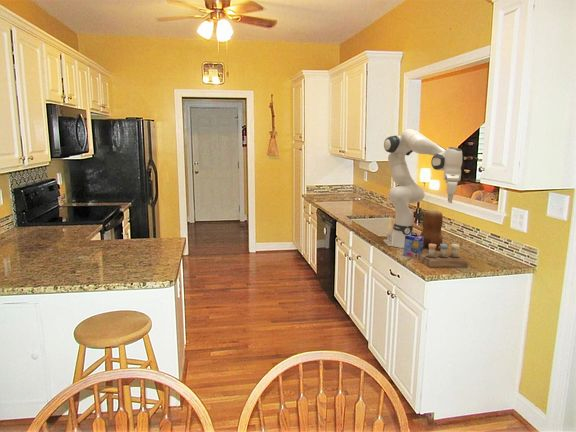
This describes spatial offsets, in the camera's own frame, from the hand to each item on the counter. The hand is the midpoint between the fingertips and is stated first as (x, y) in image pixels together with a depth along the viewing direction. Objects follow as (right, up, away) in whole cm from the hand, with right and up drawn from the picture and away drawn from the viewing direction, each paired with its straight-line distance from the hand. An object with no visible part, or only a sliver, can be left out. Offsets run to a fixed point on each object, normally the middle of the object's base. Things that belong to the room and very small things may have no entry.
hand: (449, 202), depth 240 cm
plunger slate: (-4, -30, +1) cm, 31 cm away
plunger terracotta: (-10, -30, -1) cm, 32 cm away
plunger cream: (+3, -30, +2) cm, 31 cm away
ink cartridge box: (-16, -32, +16) cm, 39 cm away
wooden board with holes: (-4, -35, +1) cm, 35 cm away
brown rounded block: (+2, -29, +39) cm, 48 cm away
